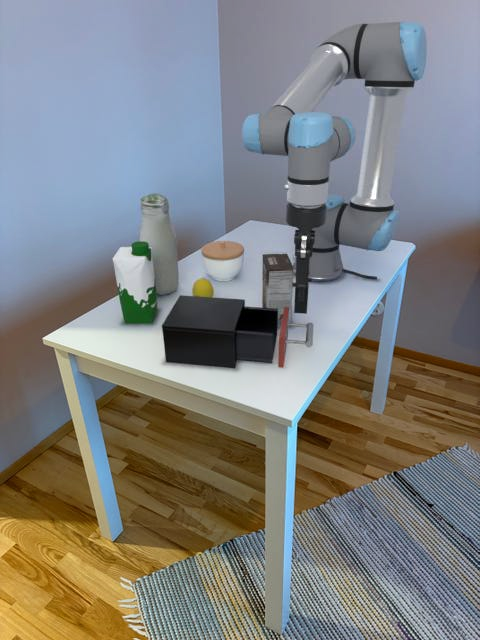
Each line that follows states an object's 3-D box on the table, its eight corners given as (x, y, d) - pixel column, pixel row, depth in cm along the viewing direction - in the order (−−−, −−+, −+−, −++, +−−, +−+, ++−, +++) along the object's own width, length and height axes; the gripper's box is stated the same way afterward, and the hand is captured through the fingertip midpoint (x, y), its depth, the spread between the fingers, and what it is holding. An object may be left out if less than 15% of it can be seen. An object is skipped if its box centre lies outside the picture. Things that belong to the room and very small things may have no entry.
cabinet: (245, 334, 113) (244, 299, 108) (235, 368, 101) (234, 331, 96) (183, 329, 115) (179, 295, 110) (165, 362, 103) (161, 325, 98)
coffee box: (261, 310, 123) (261, 253, 115) (285, 309, 123) (287, 252, 115) (265, 328, 115) (266, 268, 107) (291, 326, 115) (294, 267, 107)
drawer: (312, 337, 109) (314, 308, 105) (310, 370, 98) (313, 339, 94) (228, 331, 112) (227, 302, 108) (217, 362, 101) (215, 331, 97)
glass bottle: (144, 301, 128) (131, 200, 114) (147, 285, 137) (135, 189, 123) (180, 299, 129) (171, 199, 115) (181, 283, 138) (173, 188, 123)
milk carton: (155, 325, 117) (145, 251, 107) (119, 325, 117) (107, 251, 107) (161, 308, 124) (153, 237, 114) (128, 308, 125) (116, 237, 115)
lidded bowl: (214, 265, 149) (213, 232, 143) (250, 271, 144) (250, 238, 138) (195, 280, 139) (192, 246, 133) (233, 288, 134) (232, 252, 129)
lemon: (211, 310, 123) (209, 283, 119) (191, 308, 124) (189, 281, 120) (216, 300, 128) (215, 274, 124) (196, 299, 129) (195, 272, 125)
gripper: (289, 192, 93) (285, 296, 105) (283, 213, 82) (280, 326, 94) (327, 193, 92) (318, 298, 104) (326, 214, 81) (317, 328, 93)
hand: (300, 311), depth 99 cm, fingers closed
